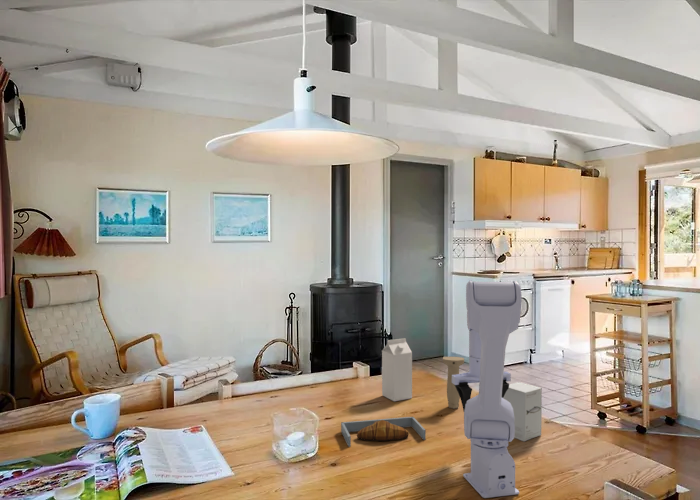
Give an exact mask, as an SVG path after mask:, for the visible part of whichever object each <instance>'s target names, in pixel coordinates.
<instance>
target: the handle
mask: <svg viewBox="0 0 700 500" xmlns="http://www.w3.org/2000/svg"><path fill="white" fill-rule="evenodd" d="M442 363H443V364H444V365H446V366H447V379H446V380H447V381H446V398H447V405H448V408H449V409H459V408H460V407H459V406H460V401H461V399H460V396H459V394H458V391H457V389H456V387H455V385H454V384H453V383H452V375H456V374H460V367H461V366H462V365H464V364H465V357H461V356H443V357H442Z"/></svg>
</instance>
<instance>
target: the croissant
mask: <svg viewBox="0 0 700 500" xmlns="http://www.w3.org/2000/svg"><path fill="white" fill-rule="evenodd" d="M356 437H357V439H358V440H360V441H361V440H362V441H369V442H371V441H373V442H374V441H376V442H388V441H389V442H390V441H398V440H404V439H408V438H409V431H408V430H407V429H406V428H405V427H400V426H397V425H394V424H391V423H389V422H388V421H384V420H381V421H376V422H375V423H373V424H372V425H369V426H367V427H365V428H363V429H361V430H360V431H357V433H356Z"/></svg>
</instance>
